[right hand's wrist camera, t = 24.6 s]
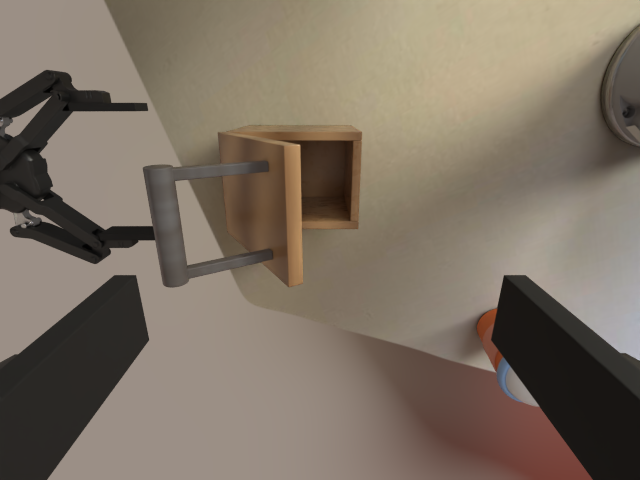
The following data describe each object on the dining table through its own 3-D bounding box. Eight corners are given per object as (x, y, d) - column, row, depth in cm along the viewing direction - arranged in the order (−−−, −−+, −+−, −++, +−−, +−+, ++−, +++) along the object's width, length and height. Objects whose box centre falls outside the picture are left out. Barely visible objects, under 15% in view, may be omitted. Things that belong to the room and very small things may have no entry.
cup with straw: (463, 351, 55) (527, 459, 38) (470, 299, 52) (542, 393, 35) (522, 349, 55) (612, 457, 38) (532, 297, 52) (636, 390, 35)
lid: (300, 144, 22) (145, 153, 17) (303, 283, 25) (173, 319, 21) (230, 131, 32) (123, 135, 28) (238, 230, 36) (144, 246, 32)
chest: (351, 125, 43) (362, 131, 33) (349, 201, 47) (358, 229, 36) (248, 125, 43) (225, 131, 33) (253, 201, 47) (234, 229, 36)
